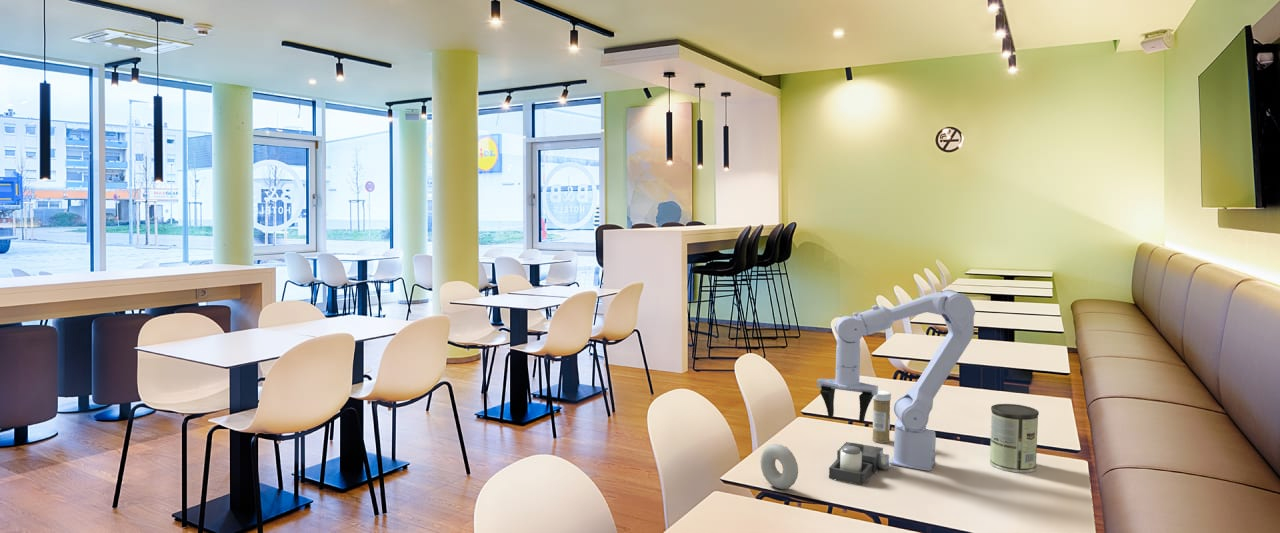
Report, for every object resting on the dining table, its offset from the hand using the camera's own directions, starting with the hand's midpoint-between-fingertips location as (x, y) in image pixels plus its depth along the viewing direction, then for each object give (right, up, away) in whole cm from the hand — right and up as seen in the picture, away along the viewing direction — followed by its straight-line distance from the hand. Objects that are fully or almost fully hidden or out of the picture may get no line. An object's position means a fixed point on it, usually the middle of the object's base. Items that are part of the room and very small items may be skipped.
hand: (846, 419), depth 183 cm
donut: (-20, -12, -17) cm, 29 cm away
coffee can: (+40, -11, -3) cm, 41 cm away
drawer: (+3, -11, -3) cm, 11 cm away
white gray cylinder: (-2, -11, -10) cm, 15 cm away
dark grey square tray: (-2, -11, -10) cm, 15 cm away
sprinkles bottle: (+14, -9, +16) cm, 23 cm away
